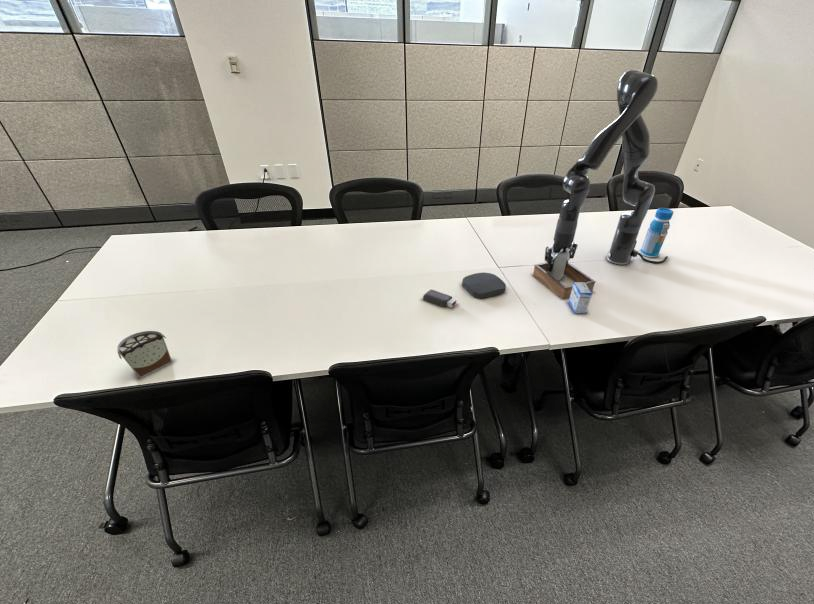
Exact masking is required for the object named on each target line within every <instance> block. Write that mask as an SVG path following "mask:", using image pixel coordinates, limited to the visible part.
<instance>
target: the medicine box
mask: <svg viewBox="0 0 814 604" xmlns="http://www.w3.org/2000/svg"><path fill="white" fill-rule="evenodd" d="M572 285H573V288H572V292H571V295H570V297H569V299H568V304H569V305H570V307H571V309H572V310H573V312H574V314H586V313H587V311H588V309H589V306H590V303H591V299H592V296H593V291H592V292H591V291H590V290H589V288H588V287H587V285H586V284H585V283H584V282H576V281H575V282H574V283H573V284H572Z"/></svg>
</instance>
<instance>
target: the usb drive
mask: <svg viewBox="0 0 814 604" xmlns="http://www.w3.org/2000/svg"><path fill="white" fill-rule="evenodd" d="M422 300H423V301H424V302H428V303H431V304H434V305H437V306H440V307H441V308H447V307H448V308H451V309H452V308H453V307H455V306H456V305H457V299H455V298H453V296H452V295H449V294H446V293H443V292H440V291H437V290H435V289H430V290H428V291H427V292H425V293H424V294H423V296H422Z"/></svg>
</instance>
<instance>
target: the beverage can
mask: <svg viewBox="0 0 814 604" xmlns="http://www.w3.org/2000/svg"><path fill="white" fill-rule="evenodd" d="M552 254H553V255H554V256H556V253H554V252H553V253H552ZM567 258H568V252H562V253H559V255H558V256H557V259H555V261H554V263H553V264H554V265H553V269H552V272H549V271H548V274H550V275H551V276H552V277H554V278H555V279H556V280H557V281H560V280H562V279H563V278H564V274H565V273H564V270H565V266H566V262H567ZM552 259H553V257H552Z"/></svg>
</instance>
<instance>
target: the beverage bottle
mask: <svg viewBox="0 0 814 604" xmlns="http://www.w3.org/2000/svg"><path fill="white" fill-rule="evenodd" d="M656 209H657V210H656V211H655V214H654V217H655V218H654V219H652V220H651V222H650V223H649V227H648V228H647V230H646V234H645V237H644V240H643V241H642V245H641V248H640V251H639V253H640V254H641V255H642V256H643V257H644V256H645V257H647V258H656V257H658V256H659V255H660V251H661V249H662V247H663V245H664V242H665V240H666V237H667V236H668V233H669V232H668V230H669V229H670V227H671V225H670V221H671V220H672V218H673V215H674V210H672V209H671V208H667V207H658V208H656Z"/></svg>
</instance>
